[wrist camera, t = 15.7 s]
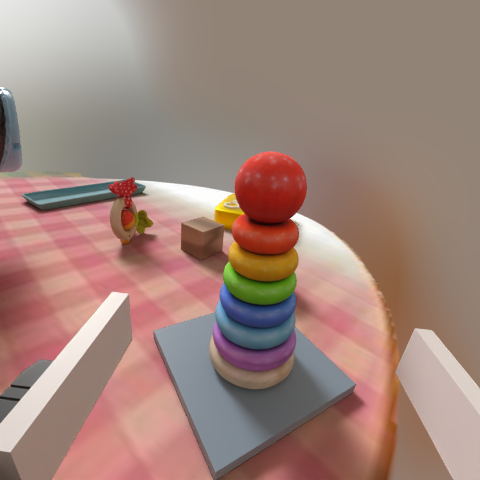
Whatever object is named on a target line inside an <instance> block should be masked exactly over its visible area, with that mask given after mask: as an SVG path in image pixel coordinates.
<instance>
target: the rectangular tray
mask: <svg viewBox="0 0 480 480" xmlns="http://www.w3.org/2000/svg"><path fill="white" fill-rule="evenodd" d="M123 181H125V180H120V181H117V182H123ZM114 182H115V181H113V182H106V183H99V184H92V185H84V186H76V187H69V188H61V189H53V190H46V191H39V192H32V193H25V194H22V196H23V197H24V198H25V199H26V200H27V201H28V202H29V203H31V204H33V205H34V206H36V207H38V208H39V209H41V210H47V209H53V208H59V207H65V206H71V205H76V204H82V203H88V202H94V201H100V200H106V199H111V198H116V197H117V196H118V195H116V194H114V193H112V192H111V191H110V190H109V188H108V185H110V184H114ZM134 184H135V185H137V186H138V187H137V189H136V191H135V192H134V193H133V194H132V195H134V194H140V193H142V192H143V191H144V189H145V187H146V186H145V185H142V184H139V183H136V182H134Z"/></svg>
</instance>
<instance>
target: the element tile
mask: <svg viewBox="0 0 480 480" xmlns="http://www.w3.org/2000/svg"><path fill="white" fill-rule="evenodd" d="M243 214H245V213H244V212H243V211H242V210H241V208H240V207H239V204H238V202H237V200H236V196H235V194H231V195H229V196H228V197H227V198H226V199H224V200H223V201H222V202H221V203H220V204H219V205H217V206H216V208H215V219H214V221H215V222H218V223H220V224H223V225H224V229H230V230H232V226H233V223H234V221H235V220H236V219H237V218H238V217H239V216H241V215H243Z"/></svg>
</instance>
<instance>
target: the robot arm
mask: <svg viewBox="0 0 480 480" xmlns="http://www.w3.org/2000/svg"><path fill="white" fill-rule="evenodd" d="M21 165H22V151H21V145H20V134H19V125H18V119H17V113H16V107H15V102H14V98H13V96H12V93H11V92H10V91H9V90H8V89H6V88H2V87H0V172H13V171H16V170H18V169H19V168H20V167H21ZM131 341H132V329H131V316H130V303H129V294H126V293H118V292H112V293H111V294H110V295H109V297H108V298H107V299H106V300H105V301H104V302H103V304H102V305H101V306H100V307H99V308H98V309H97V311H96V312H95V313H94V314H93V315H92V316H91V318H90V319H89V320H88V321H87V322H86V324H85V325H84V326H83V327H82V328H81V329H80V331H79V332H78V333H77V334H76V335H75V336H74V338H73V339H72V340H71V341H70V342H69V343H68V345H67V346H66V347H65V348H64V349H63V351H62V352H61V353H60V354H59V355H58V356H57V358H56V359H55V360H54V361H50V360H42V359H40V360H39V361H37V362H36V363H34V364H33V365H31V366H30V367H28V368H27V369H25V370H24V371H23V372H22V373H21V374H20V375H19V376H18V377H17V378H16V379H15V381H14V382H13V383H12V384H11V386H10V387H8V388H7V389H6V390H5V391H4V392H3V393H2V394H1V395H0V480H52V478H53V476H54V475H55V473H56V471H57V469H58V468H59V466H60V464H61V462H62V461H63V459H64V457H65V456H66V454H67V452H68V450H69V449H70V447H71V445H72V443H73V442H74V440H75V438H76V436H77V435H78V433H79V431H80V430H81V428H82V426H83V424H84V423H85V421H86V419H87V417H88V416H89V414H90V412H91V410H92V409H93V407H94V405H95V404H96V402H97V400H98V398H99V397H100V395H101V393H102V391H103V390H104V388H105V386H106V384H107V383H108V381H109V379H110V378H111V376H112V374H113V372H114V371H115V369H116V367H117V365H118V364H119V362H120V360H121V358H122V357H123V355H124V353H125V351H126V350H127V348H128V346H129V345H130V343H131ZM395 373H396V374H397V376H398V378H399V380H400V382H401V384H402V386H403V387H404V389H405V391H406V393H407V395H408V397H409V399H410V400H411V402H412V404H413V406H414V408H415V410H416V411H417V413H418V415H419V417H420V419H421V421H422V423H423V424H424V426H425V428H426V430H427V432H428V434H429V436H430V437H431V439H432V441H433V443H434V445H435V447H436V448H437V450H438V452H439V454H440V456H441V458H442V459H443V461H444V463H445V465H446V467H447V469H448V471H449V473H450V475H451V476H452V478H453V480H480V388H479V387H478V386H477V385H476V383H475V382H474V381H473V380H472V378H471V377H470V376H469V375H468V374H467V372H466V371H465V370H464V369H463V367H462V366H461V365H460V364H459V363H458V361H457V360H456V359H455V358H454V357H453V355H452V354H451V353H450V352H449V350H448V349H447V348H446V347H445V346H444V344H443V343H442V342H441V341H440V339H439V338H438V337H437V336H436V335H435V333H434V332H433V331H432V330H425V329H416V328H415V330H414V332H413V334H412V336H411V338H410V340H409V343H408V345H407V347H406V349H405V352H404V354H403V356H402V358H401V360H400V363H399V365H398V367H397V369H396V372H395Z"/></svg>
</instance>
